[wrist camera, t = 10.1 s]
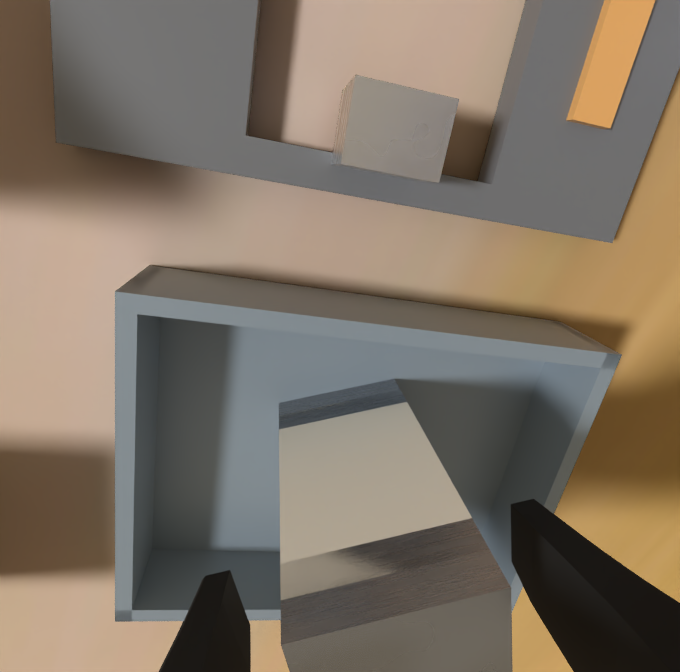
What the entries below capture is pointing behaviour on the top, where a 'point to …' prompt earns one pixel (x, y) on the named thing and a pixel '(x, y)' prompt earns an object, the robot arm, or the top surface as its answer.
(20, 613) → the top surface
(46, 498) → the top surface
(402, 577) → the tan rectangular block
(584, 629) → the robot arm
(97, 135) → the frame
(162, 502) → the tray
